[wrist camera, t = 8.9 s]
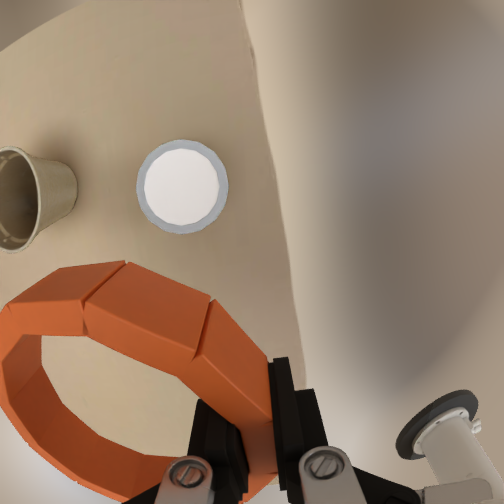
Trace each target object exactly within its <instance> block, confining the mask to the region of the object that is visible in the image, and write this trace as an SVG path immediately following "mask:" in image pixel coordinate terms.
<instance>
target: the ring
mask: <svg viewBox="0 0 504 504" xmlns="http://www.w3.org/2000/svg"><path fill="white" fill-rule="evenodd" d="M210 298H211V296H210V295H208V294H205V293H203V292H200V291H198V290H195V289H193V288H190V287H188V286H186V285H183V284H181V283H178V282H176V281H174V280H171V279H169V278H167V277H164V276H162V275H160V274H157V273H155V272H153V271H150V270H148V269H146V268H143V267H141V266H139V265H137V264H134V263H132V262H128V263H127V264H126V263H125V261H124V260H123V261H114V262H106V263H98V264H89V265H81V266H73V267H65V268H59V269H57V270H56V271H54V272H52V273H51V274H49V275H48V276H46V277H45V278H43V279H42V280H40V281H39V282H37V283H36V284H34V285H33V286H31V287H30V288H28V289H27V290H25V291H24V292H22V293H21V294H20V295H18V296H17V297H15V298H14V299H12V300H11V301H10V302H8V303H7V304H6V305H5V306H4V308H3V309H2V311H1V313H0V406H1V408H2V410H3V411H4V413H5V414H6V416H7V417H8V418H9V420H10V421H11V423H12V424H13V426H14V427H15V428H16V430H17V431H18V432H19V434H20V435H21V436H22V438H23V439H24V440H25V442H27V443H29V446H30V447H31V448H32V449H33V450H35V451H36V452H37V453H38V454H39V455H41V456H42V457H43V458H44V459H45V460H46V461H48V462H49V463H50V464H52V465H53V466H54V467H55V468H57V469H58V470H59V471H61V472H62V473H63V474H65V475H66V476H67V477H69V478H70V479H72V480H73V481H77V483H78V484H80V485H82V486H84V487H87V488H89V489H91V490H93V491H95V492H97V493H100V494H102V495H104V496H107V497H109V498H112V499H114V500H117V501H120V502H122V503H123V502H125V501H127V500H129V499H131V498H133V497H135V496H137V495H139V494H141V493H142V492H144V491H146V490H148V489H150V488H151V487H153V486H155V485H157V484H158V483H160V482H161V481H162V478H163V475H164V472H165V469H166V467H167V466H168V465H169V464H170V463H171V462H172V461H173V460H175V459H177V458H179V457H167V456H154V455H144V454H142V453H139V452H137V451H134V450H131V449H129V448H127V447H124V446H122V445H119V444H117V443H115V442H112V441H110V440H108V439H106V438H104V437H101V436H99V435H98V434H97V433H96V432H94V431H93V430H92V429H91V428H90V427H88V426H87V425H86V424H85V423H84V422H82V421H81V420H80V419H79V418H78V417H77V416H76V415H75V414H73V413H72V412H71V411H70V410H69V409H68V408H67V407H66V406H65V405H64V404H63V403H62V402H61V400H60V398H59V396H58V395H57V393H56V391H55V389H54V387H53V386H52V384H51V382H50V380H49V378H48V376H47V374H46V372H45V370H44V368H43V366H42V360H41V335H49V336H87V337H89V338H91V339H93V340H95V341H97V342H99V343H101V344H103V345H105V346H107V347H109V348H111V349H113V350H115V351H117V352H120V353H122V354H124V355H126V356H128V357H130V358H133V359H135V360H137V361H139V362H142V363H144V364H146V365H149V366H151V367H154V368H156V369H158V370H161V371H163V372H166V373H168V374H171V375H174V376H176V377H178V378H179V379H180V380H181V381H182V382H183V383H184V384H185V385H186V386H187V387H188V388H190V389H191V390H192V391H193V392H194V393H195V394H196V395H197V396H199V397H200V398H201V399H202V400H203V401H204V402H206V403H207V404H208V405H209V406H210V407H211V408H213V409H214V410H215V411H216V412H217V413H219V414H220V415H221V416H222V417H224V418H225V419H226V420H227V421H229V422H230V423H231V424H235V427H236V428H237V429H239V431H240V435H241V439H242V443H243V447H244V451H245V455H246V459H247V463H248V493H243V501H239V504H243V502H248V501H249V500H250V499H251V498H252V497H253V496H255V495H256V494H257V493H258V492H259V491H260V490H262V489H263V488H264V487H265V486H266V485H267V484H268V483H269V482H271V481H272V480H273V479H274V478H275V477H276V476H277V475H278V468H277V460H276V451H275V442H274V431H273V418H272V406H271V395H270V384H269V373H268V363H269V362H268V361H267V356H266V355H265V354H264V353H263V352H262V351H261V350H260V349H259V348H258V347H257V345H256V344H255V343H254V342H253V341H252V340H251V339H250V338H249V337H248V336H247V334H246V333H245V332H244V331H243V330H242V329H241V328H240V327H239V325H238V324H237V323H236V322H235V321H234V320H233V319H232V318H231V316H230V315H229V314H228V313H227V312H226V311H225V310H224V308H223V307H222V306H221V305H220V304H219V303H218V301H217V300H216V299H214V300H212V301H211V302H210Z"/></svg>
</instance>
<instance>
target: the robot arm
mask: <svg viewBox="0 0 504 504" xmlns="http://www.w3.org/2000/svg"><path fill="white" fill-rule="evenodd" d="M268 373H269V384H270V395H271V406H272V418H273V431H274V442H275V451H276V460H277V468H278V476H279V484H280V491H283V490H287V497H288V502H289V503H291V504H504V482H503V480H502V479H501V477H500V475H499V474H498V472H497V470H496V469H495V468H494V466H493V464H492V462H491V461H490V459H489V458H488V456H487V454H486V453H485V451H484V450H483V448H482V447H481V445H480V444H479V442H478V441H477V439H476V438H475V436H474V435H473V434H475V433H478V432H479V431H481V420H480V419H476V420H474V421H473V422H470V421H469V419H468V418H469V413H468V411H467V410H466V409H465V408H463V407H456V408H452V409H450V410H447V411H445V412H443V413H441V414H440V415H438V416H437V417H435V418H434V419H432V420H431V421H430V422H429V423H427V424H426V425H425V426H424V427H423V428H422V429H421V430H420V431H419V432H418V434H417V435H416V436H415V438H414V440H413V442H412V449H413V451H414V452H415V453H416V454H425V456H426V458H427V460H428V462H429V464H430V466H431V468H432V470H433V472H434V474H435V476H436V478H437V480H438V482H439V485H436V486H429V487H424V488H423V489H422V490H412V489H411V488H409V487H406V486H403V485H400V484H397V483H394V482H391V481H388V480H386V479H383V478H381V477H378V476H375V475H373V474H370V473H368V472H365V471H363V470H360V469H358V468H356V467H353V466H352V465H351V463H350V460H349V458H348V457H347V455H346V453H345V452H343V451H342V450H341V449H338V448H336V447H333V446H328V442H327V438H326V434H325V430H324V426H323V422H322V419H321V415H320V410H319V407H318V403H317V399H316V395H315V392H314V389H313V388H312V389H306V390H299V391H295V390H294V385H293V380H292V374H291V369H290V364H289V359H288V357H282V358H273V362H272V363H268ZM243 493H248V463H247V459H246V455H245V451H244V447H243V443H242V439H241V435H240V431H239V429H237V428H236V427H235V424H231V423H230V422H229V421H227V420H226V419H225V418H224V417H222V416H221V415H220V414H219V413H217V412H216V411H215V410H214V409H213V408H211V407H210V406H209V405H208V404H207V403H206V402H204V401H203V400H202V399H198V401H197V405H196V410H195V415H194V421H193V426H192V431H191V437H190V442H189V447H188V453H187V456H183V457H179V458H177V459H175V460H173V461H172V462H171V463H170V464H169V465H168V466H167V467H166V469H165V472H164V475H163V478H162V481H161V482H160V483H158V484H157V485H155V486H153V487H151V488H150V489H148V490H146V491H144V492H142V493H141V494H139V495H137V496H135V497H133V498H131V499H129V500H127V501H125V502H123V503H122V504H239V501H243Z"/></svg>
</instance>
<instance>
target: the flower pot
mask: <svg viewBox="0 0 504 504" xmlns="http://www.w3.org/2000/svg"><path fill="white" fill-rule="evenodd" d="M77 191H78V190H77V181H76V178H75V175H74V173H73V172H72V170H71V169H70V168H69V167H68V166H67V165H65V164H64V163H62V162H56V161H51V160H46V159H42V158H37V157H32V156H30V155H29V154H27V153H26V152H25V151H23V150H22V149H20V148H18V147H14V146H6V147H3V148H1V149H0V250H1V251H3V252H6V253H10V254H12V253H18V252H21V251H23V250H24V249H26V248H27V247H28V246H29V245H30V244H31V243H32V241H33V240H34V238H35V237H36V236H37V235H38V233H39V232H40V231H42V230H43V229H45V228H47V227H48V226H50V225H51V224H53V223H54V222H56V221H58V220H59V219H61V218H63V217H65V216H66V215H67V214H68V213H70V211H71V210H72V209H73V205H74V203H75V200H76V197H77Z"/></svg>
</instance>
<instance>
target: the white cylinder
mask: <svg viewBox="0 0 504 504" xmlns="http://www.w3.org/2000/svg"><path fill="white" fill-rule="evenodd" d="M228 189H229V184H228V179H227V174H226V169H225V167H224V165H223V164H222V162H221V161H220V159H219V158H218V156H217V155H216V153H215V152H214V151H212V150H211V149H209V148H208V147H206V146H204V145H203V144H201V143H200V142H196V141H189V140H183V139H179V140H175V141H171V142H168V143H164V144H162V145H160V146H159V147H158V148H157V149H155V150H154V151H153V152H151V153H150V154H149V155H148V156H147V158H146V159H145V161H144V163H143V164H142V166H141V168H140V169H139V172H138V178H137V184H136V192H137V196H138V201H139V205H140V208H141V209H142V210H143V212H144V213H145V215H146V216H147V218H148V219H149V221H150V222H152V223H153V224H155V225H156V226H158V227H159V228H161V229H162V230H164V231H167V232H172V233H177V234H187V233H192V232H197V231H200V230H202V229H203V228H205V227H206V226H208V225H209V224H211V223H212V222H214V221H215V220H216V218H217V217H218V215H219V214H220V212H221V211H222V209H223V208H224V206H225V203H226V198H227V194H228Z"/></svg>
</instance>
